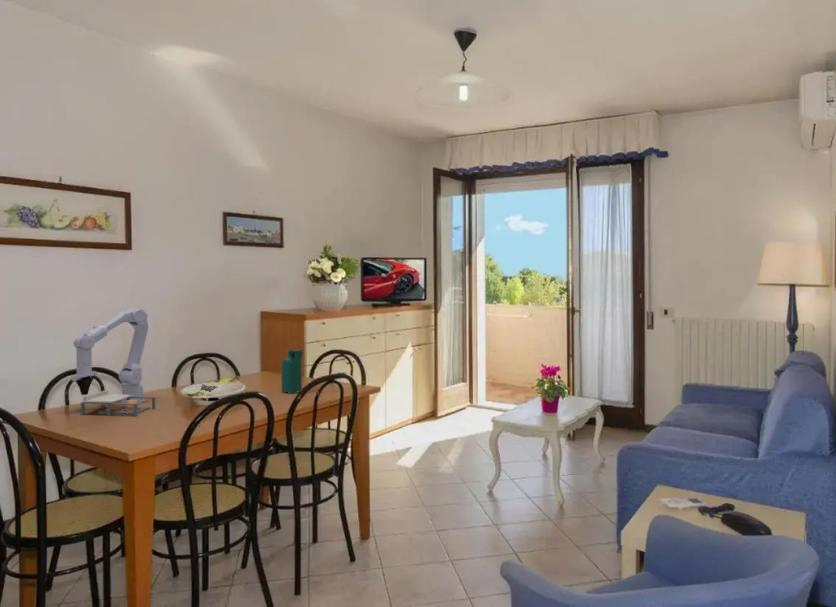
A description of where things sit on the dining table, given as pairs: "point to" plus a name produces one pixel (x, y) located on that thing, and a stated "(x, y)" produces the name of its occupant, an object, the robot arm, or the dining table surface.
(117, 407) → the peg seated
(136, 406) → the grey base stand
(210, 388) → the caster wheel
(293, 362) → the teal bottle
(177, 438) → the dining table surface
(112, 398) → the lid
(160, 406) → the dining table surface
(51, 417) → the dining table surface
